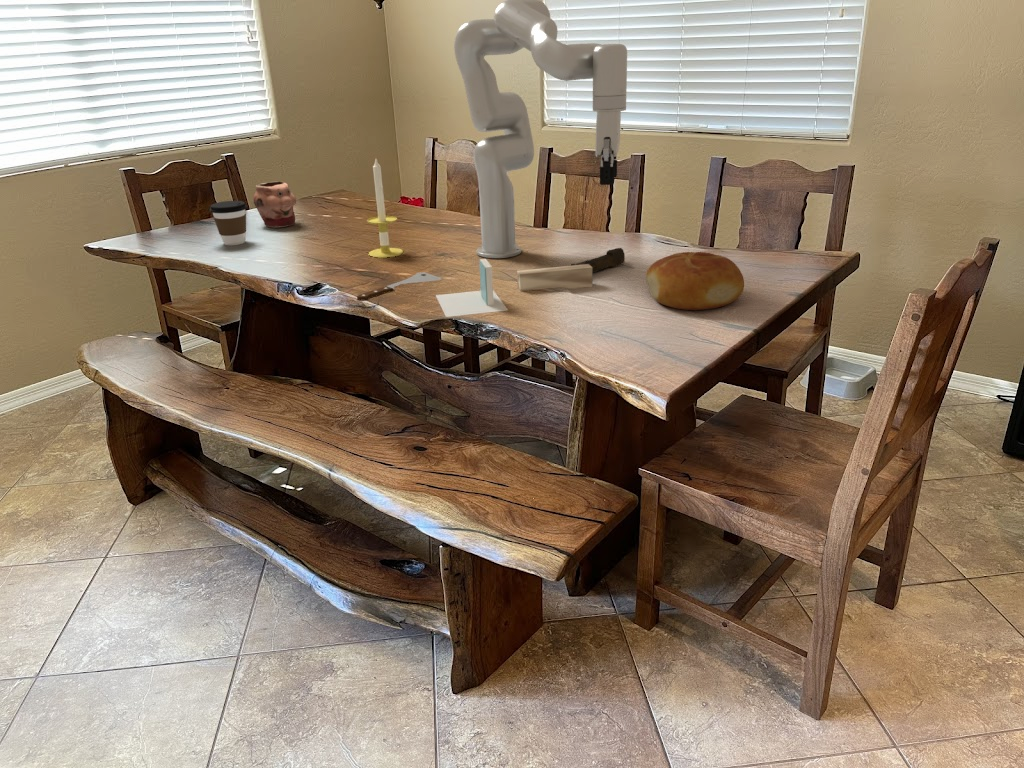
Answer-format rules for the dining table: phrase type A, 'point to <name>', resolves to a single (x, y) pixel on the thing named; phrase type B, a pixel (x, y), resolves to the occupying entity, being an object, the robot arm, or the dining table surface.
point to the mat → (468, 304)
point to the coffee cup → (230, 221)
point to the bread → (695, 281)
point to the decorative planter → (275, 204)
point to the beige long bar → (555, 277)
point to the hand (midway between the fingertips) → (608, 180)
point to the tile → (486, 281)
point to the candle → (382, 219)
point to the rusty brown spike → (606, 260)
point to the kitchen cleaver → (416, 278)
